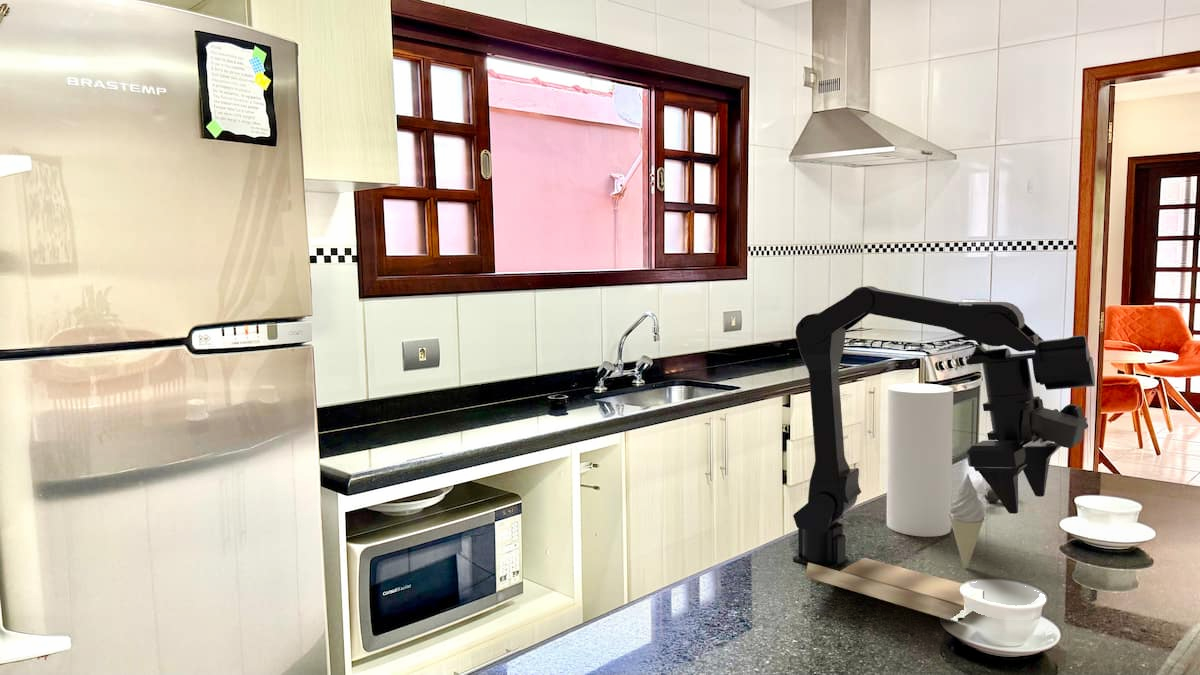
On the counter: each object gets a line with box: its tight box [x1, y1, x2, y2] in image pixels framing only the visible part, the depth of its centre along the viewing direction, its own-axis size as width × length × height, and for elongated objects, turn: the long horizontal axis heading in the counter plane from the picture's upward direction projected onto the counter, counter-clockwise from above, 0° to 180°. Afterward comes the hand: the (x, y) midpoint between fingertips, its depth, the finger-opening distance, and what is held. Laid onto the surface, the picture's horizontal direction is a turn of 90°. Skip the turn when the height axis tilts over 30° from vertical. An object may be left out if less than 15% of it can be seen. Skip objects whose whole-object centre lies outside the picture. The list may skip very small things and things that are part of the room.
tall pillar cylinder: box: [886, 382, 954, 538], centre depth 145 cm, size 11×11×25 cm
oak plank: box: [804, 562, 961, 621], centre depth 112 cm, size 18×9×2 cm, turn 44°
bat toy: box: [975, 481, 1000, 504], centre depth 159 cm, size 3×15×5 cm, turn 130°
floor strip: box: [840, 557, 964, 610], centre depth 118 cm, size 18×8×2 cm, turn 44°
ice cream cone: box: [949, 473, 986, 569], centre depth 126 cm, size 5×5×15 cm
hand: (1027, 504), depth 113 cm, fingers open, 9 cm apart
